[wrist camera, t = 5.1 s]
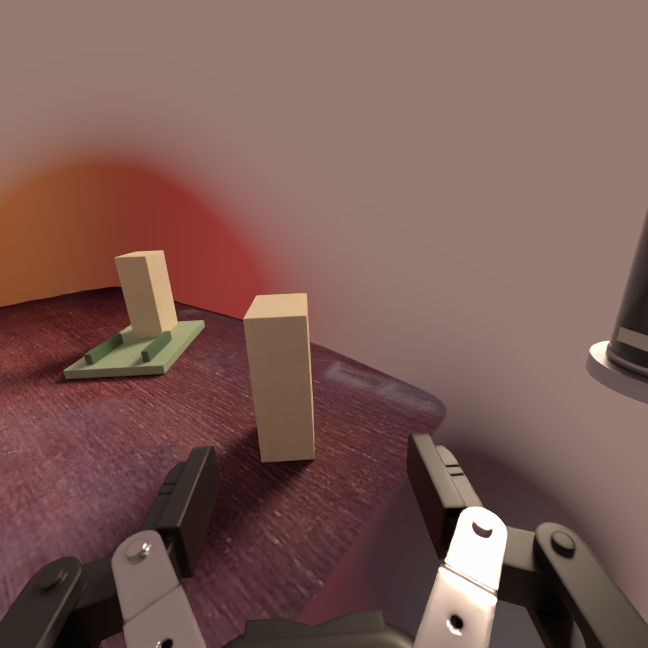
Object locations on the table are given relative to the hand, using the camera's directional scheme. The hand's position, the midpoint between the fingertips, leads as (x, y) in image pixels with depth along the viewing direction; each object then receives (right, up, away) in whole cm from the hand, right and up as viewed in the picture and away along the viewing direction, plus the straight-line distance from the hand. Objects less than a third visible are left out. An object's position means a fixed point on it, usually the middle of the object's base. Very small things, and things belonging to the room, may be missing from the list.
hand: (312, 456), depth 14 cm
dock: (-21, +2, +27) cm, 34 cm away
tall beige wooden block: (-2, -3, +10) cm, 11 cm away
